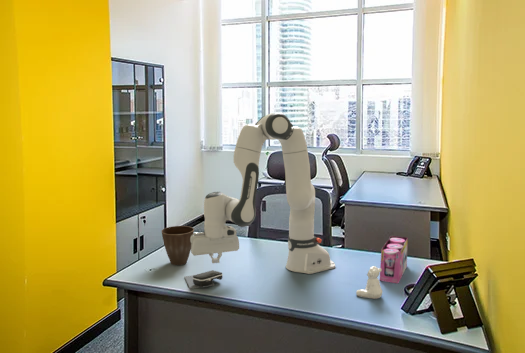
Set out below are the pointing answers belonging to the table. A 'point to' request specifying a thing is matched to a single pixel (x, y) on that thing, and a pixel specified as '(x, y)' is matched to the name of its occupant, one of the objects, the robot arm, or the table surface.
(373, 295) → the white creature statuette
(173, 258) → the plant pot
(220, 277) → the battery charger
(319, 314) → the table surface
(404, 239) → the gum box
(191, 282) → the mat
